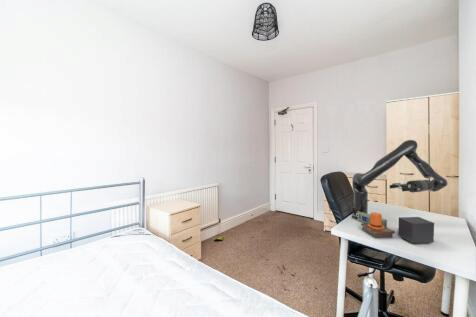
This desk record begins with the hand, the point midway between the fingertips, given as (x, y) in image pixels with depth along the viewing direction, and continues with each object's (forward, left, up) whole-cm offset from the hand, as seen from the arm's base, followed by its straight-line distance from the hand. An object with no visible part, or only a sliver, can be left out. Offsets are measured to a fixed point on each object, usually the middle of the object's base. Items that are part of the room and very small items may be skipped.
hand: (396, 188), depth 136 cm
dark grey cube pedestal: (+14, +1, -28) cm, 31 cm away
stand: (+3, -14, -28) cm, 31 cm away
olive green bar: (-13, -10, -28) cm, 32 cm away
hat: (+2, -14, -24) cm, 28 cm away
